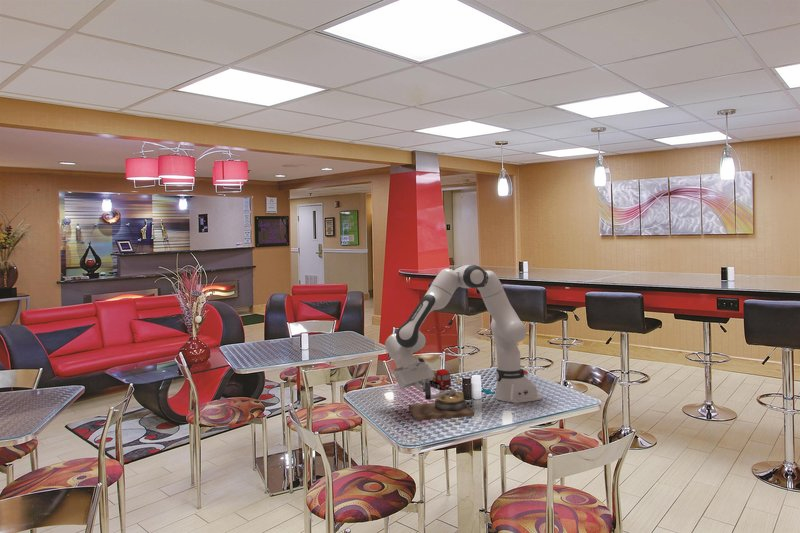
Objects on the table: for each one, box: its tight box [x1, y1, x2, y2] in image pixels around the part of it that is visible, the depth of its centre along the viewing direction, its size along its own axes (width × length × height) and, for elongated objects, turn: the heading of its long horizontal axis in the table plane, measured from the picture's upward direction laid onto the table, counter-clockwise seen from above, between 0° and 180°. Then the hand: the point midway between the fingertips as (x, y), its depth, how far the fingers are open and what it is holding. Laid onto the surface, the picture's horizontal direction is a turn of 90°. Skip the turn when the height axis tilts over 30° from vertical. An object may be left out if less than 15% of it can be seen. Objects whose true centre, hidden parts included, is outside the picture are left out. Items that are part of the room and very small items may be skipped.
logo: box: [453, 378, 496, 395], centre depth 278 cm, size 34×1×10 cm
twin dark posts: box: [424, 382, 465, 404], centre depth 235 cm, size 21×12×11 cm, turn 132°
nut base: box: [408, 398, 475, 421], centre depth 236 cm, size 26×18×4 cm
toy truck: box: [428, 368, 453, 391], centre depth 280 cm, size 7×21×10 cm, turn 31°
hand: (424, 391), depth 230 cm, fingers closed, pressing on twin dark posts
